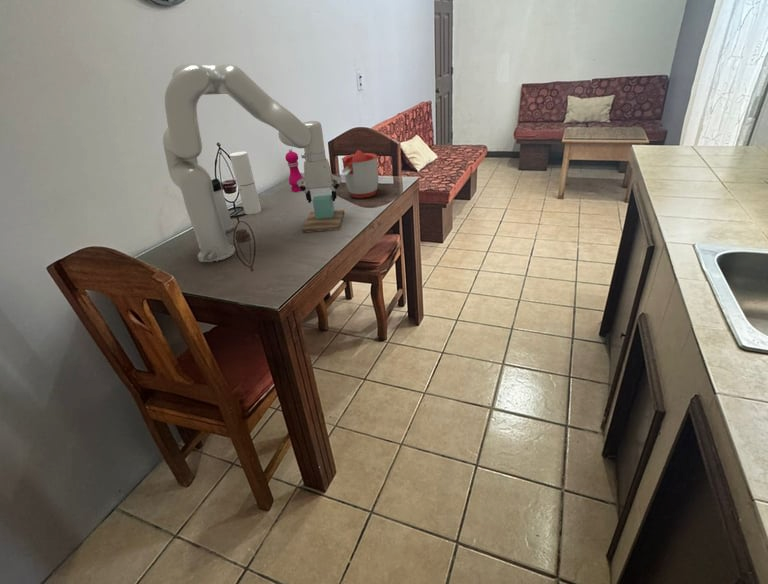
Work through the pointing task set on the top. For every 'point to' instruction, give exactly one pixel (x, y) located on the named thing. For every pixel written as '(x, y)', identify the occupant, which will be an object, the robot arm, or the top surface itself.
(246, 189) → the cylindrical container
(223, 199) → the travel mug
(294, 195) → the top surface
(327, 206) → the mint green cube
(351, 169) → the citrus juicer
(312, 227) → the board
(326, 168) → the robot arm
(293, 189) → the pepper mill
